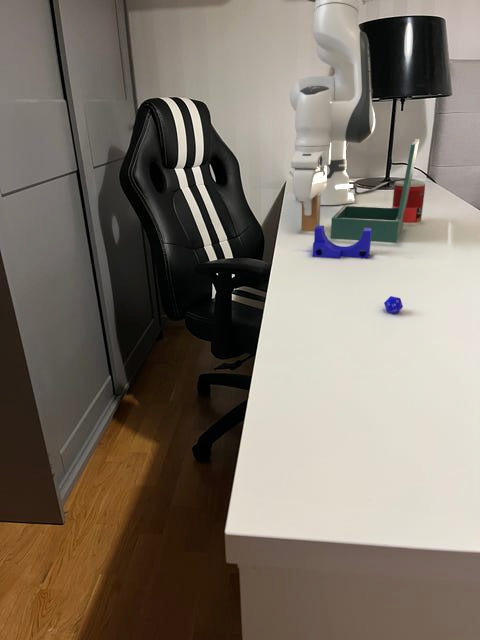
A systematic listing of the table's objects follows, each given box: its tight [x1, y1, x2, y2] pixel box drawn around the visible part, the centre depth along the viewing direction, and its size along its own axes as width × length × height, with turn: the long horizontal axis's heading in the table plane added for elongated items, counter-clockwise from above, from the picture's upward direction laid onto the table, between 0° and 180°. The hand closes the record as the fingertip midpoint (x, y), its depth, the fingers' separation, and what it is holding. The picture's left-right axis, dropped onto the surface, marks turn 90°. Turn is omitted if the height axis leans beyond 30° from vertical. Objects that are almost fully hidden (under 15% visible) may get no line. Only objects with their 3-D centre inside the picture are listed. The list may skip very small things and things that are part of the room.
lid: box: [397, 138, 420, 220], centre depth 119 cm, size 16×17×1 cm
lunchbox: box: [330, 205, 404, 244], centre depth 126 cm, size 16×17×6 cm
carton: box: [300, 193, 321, 232], centre depth 130 cm, size 4×4×10 cm
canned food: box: [391, 179, 426, 224], centre depth 138 cm, size 8×8×11 cm
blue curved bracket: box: [312, 225, 372, 259], centre depth 110 cm, size 12×4×6 cm, turn 71°
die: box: [383, 295, 404, 315], centre depth 81 cm, size 3×3×3 cm
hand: (310, 212), depth 130 cm, fingers closed on carton, 4 cm apart
